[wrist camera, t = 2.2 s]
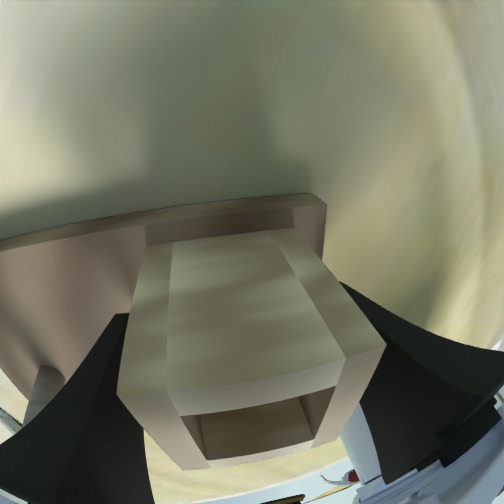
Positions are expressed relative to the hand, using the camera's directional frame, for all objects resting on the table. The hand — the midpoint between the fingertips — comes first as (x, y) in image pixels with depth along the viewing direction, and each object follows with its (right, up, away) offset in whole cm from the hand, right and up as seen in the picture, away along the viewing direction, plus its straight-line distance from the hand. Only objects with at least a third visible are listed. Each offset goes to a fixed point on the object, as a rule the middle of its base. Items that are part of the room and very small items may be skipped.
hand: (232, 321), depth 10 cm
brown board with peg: (-6, -2, +3) cm, 7 cm away
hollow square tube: (0, +1, +1) cm, 2 cm away
